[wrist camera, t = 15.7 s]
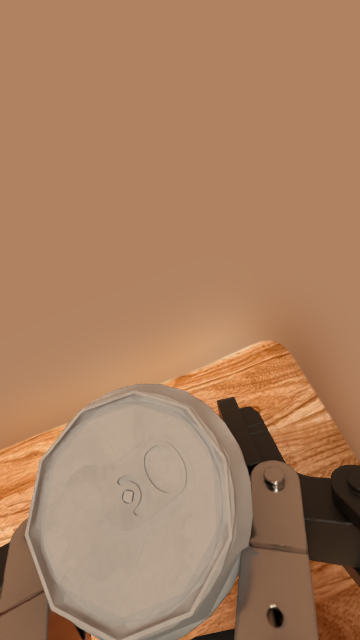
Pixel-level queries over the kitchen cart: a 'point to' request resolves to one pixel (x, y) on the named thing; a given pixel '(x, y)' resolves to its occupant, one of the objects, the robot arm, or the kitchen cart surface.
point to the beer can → (140, 515)
